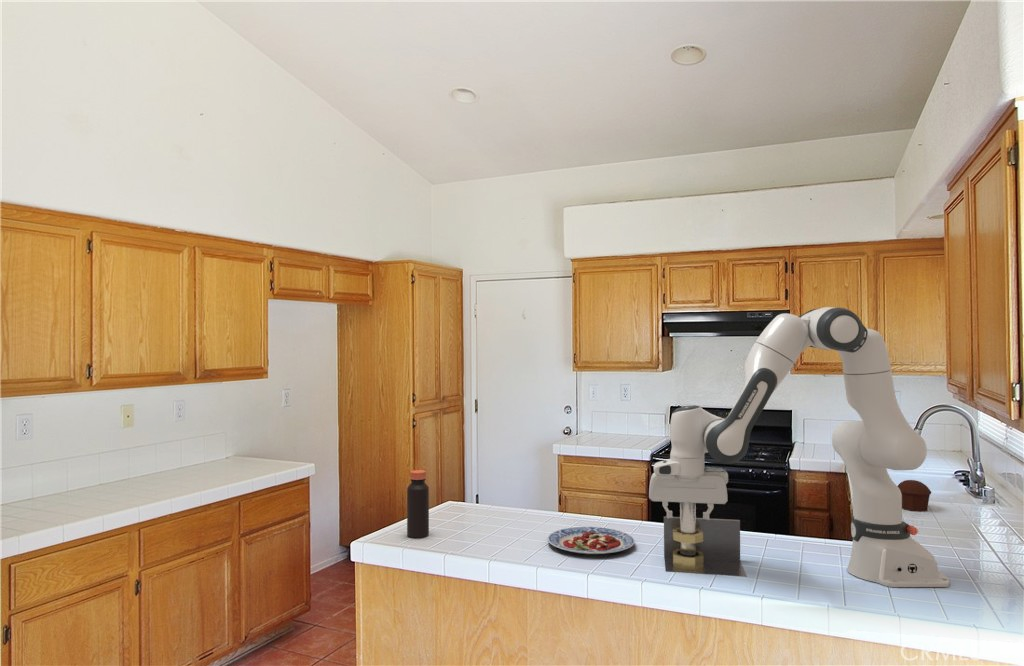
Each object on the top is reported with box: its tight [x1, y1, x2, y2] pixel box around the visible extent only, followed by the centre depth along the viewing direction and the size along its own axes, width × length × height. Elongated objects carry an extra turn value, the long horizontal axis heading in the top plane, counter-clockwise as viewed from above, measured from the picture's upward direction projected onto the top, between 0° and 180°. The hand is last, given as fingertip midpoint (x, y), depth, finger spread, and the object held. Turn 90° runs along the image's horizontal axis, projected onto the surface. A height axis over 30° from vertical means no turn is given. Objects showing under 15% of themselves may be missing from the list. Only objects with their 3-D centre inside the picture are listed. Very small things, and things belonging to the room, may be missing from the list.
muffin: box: [897, 479, 932, 513], centre depth 238 cm, size 12×11×10 cm
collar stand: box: [663, 515, 748, 578], centre depth 174 cm, size 20×13×12 cm, turn 79°
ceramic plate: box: [547, 526, 636, 556], centre depth 196 cm, size 26×26×3 cm
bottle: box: [406, 469, 430, 539], centre depth 207 cm, size 7×7×20 cm
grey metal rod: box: [679, 502, 697, 557], centre depth 175 cm, size 4×4×17 cm
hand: (687, 518), depth 175 cm, fingers open, 8 cm apart
